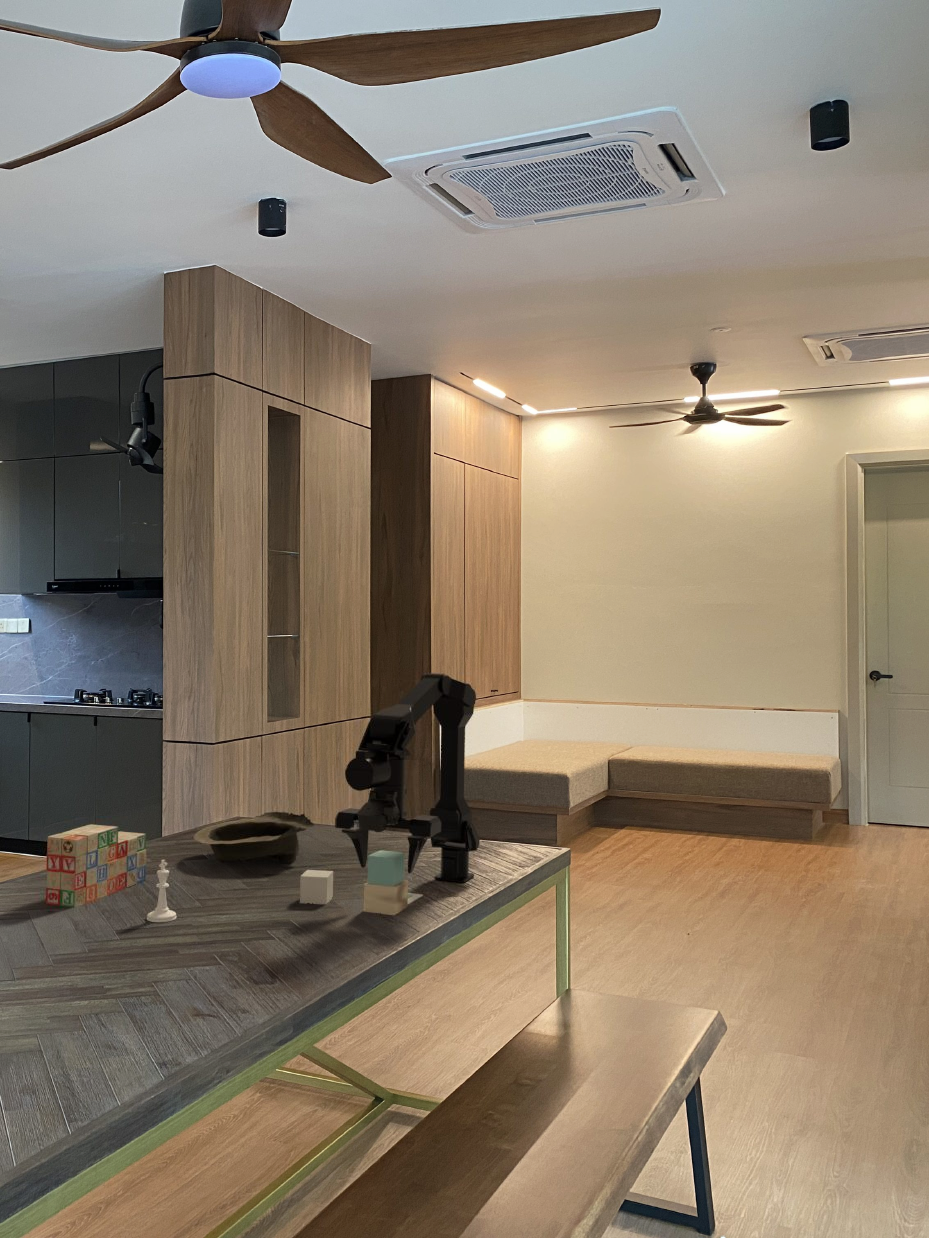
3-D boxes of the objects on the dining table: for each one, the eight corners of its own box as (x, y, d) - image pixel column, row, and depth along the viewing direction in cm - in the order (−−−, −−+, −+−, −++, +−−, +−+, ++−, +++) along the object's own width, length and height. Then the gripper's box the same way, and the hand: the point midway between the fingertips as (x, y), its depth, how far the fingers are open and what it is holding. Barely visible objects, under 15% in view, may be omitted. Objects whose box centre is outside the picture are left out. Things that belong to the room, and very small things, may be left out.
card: (389, 891, 204) (389, 889, 204) (422, 895, 202) (422, 893, 202) (373, 900, 198) (373, 897, 198) (408, 904, 195) (408, 902, 195)
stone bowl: (334, 856, 233) (333, 814, 232) (254, 887, 212) (253, 841, 211) (251, 839, 246) (250, 800, 245) (168, 867, 225) (167, 824, 224)
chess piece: (182, 916, 184) (183, 858, 184) (165, 923, 179) (167, 864, 179) (158, 912, 186) (159, 855, 186) (140, 920, 181) (142, 861, 181)
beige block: (306, 896, 199) (307, 869, 200) (332, 897, 199) (333, 871, 199) (299, 903, 195) (300, 876, 195) (326, 904, 194) (327, 877, 194)
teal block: (379, 877, 195) (380, 850, 195) (404, 880, 193) (405, 852, 193) (367, 883, 190) (368, 855, 190) (392, 886, 189) (393, 858, 189)
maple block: (377, 903, 196) (377, 876, 196) (407, 907, 194) (408, 880, 194) (363, 911, 190) (364, 883, 190) (394, 915, 188) (395, 887, 188)
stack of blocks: (118, 878, 210) (120, 815, 210) (146, 881, 208) (147, 818, 208) (44, 904, 189) (46, 835, 190) (74, 908, 188) (76, 838, 188)
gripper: (321, 785, 188) (319, 874, 188) (419, 794, 181) (417, 885, 181) (349, 777, 198) (347, 861, 198) (443, 785, 192) (441, 871, 192)
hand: (386, 869), depth 192 cm, fingers open, 9 cm apart
